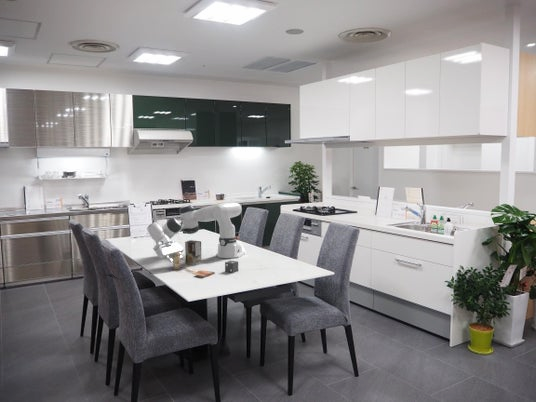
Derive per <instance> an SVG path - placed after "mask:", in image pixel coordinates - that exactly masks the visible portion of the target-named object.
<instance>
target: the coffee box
mask: <svg viewBox="0 0 536 402" xmlns="http://www.w3.org/2000/svg"><path fill="white" fill-rule="evenodd" d="M184 246H185V247H184V248H185V249H184V250H185V253H184V256H185V264H187V265H192V266H198V265H201V264H202V241H199V240H192V239H191V240H187V241H184Z"/></svg>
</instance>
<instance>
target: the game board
mask: <svg viewBox="0 0 536 402" xmlns="http://www.w3.org/2000/svg"><path fill="white" fill-rule="evenodd" d="M166 271H171V272H176V273H177V272H179V273H182V274H183V273H184V274H189V275H194V276H192V277H194V278H200V279H205V278H207V277H210V276H212V275H215V271H211V270H202V269H201V270H200V269H197V268H196V269H195V268H188V267H183V266H182V267H181V266H180V269H179V270H174V269H173V267H171V268H168V269H166Z"/></svg>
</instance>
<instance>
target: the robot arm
mask: <svg viewBox="0 0 536 402" xmlns="http://www.w3.org/2000/svg"><path fill="white" fill-rule="evenodd" d="M242 209H243V208H242V206H241V204H240V203H239V202H233V201H231V202H223V203H218V204H214V205H209V206H204V207H201V208H199V209H197V208H196V207H194V206H193V205H190V204H185V205H182V206H181V207H179V214H180V217H178V216H177V217H172V218H170V219H168V220H167V221H166V222H165V223H164V224H163V225H162V226H161V225H160V224H159V223H158V221H154V222H152V223H151V224H149V225H148V226H147V228H146V230H147V232H148V234H149V236H150V238H151V239H152V240H153V241H154V242H155V245H154V247H153V248H152V249H153V251H154V252H155V254H156V255H157V257H158V259H161V260H163V259H165V260H167V261H168V262H169V263H173V258H170V257H173V256H174V253H176V252H177V253H179V256H180V261H181V260H183V258H184V257H183V255H182V253H183V252H184V248H183V247H182V246H181V244H180V243H178V242H177V241H172V240H171V239H172V238H173V237H174V236H175V235H177V234H179V233H180V232H181V231H182V232H184V233H185V234H188V235H194V234H196V233H197V232H198V231H199V230H200V225H199V222H200V223H201V222H202V223H203V222H206V223H207V222H212V221H217V223H218V226H219V229H218V230H219V237H218V242H219V243H218V245H217V253H216V256H217V257H218V258H220V259H235V258H237V259H239V258H240V257H242V256H244V255H245V254H246V252H245V251H243V248H242V245H241V244H240V243H239V242H238V241H237V240H239V236H236V227H235V225H234V224H233V223H232V221H231V219H232V218H235V217H238V216H240V215H241V214H242V212H243V211H242Z"/></svg>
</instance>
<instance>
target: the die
mask: <svg viewBox="0 0 536 402" xmlns="http://www.w3.org/2000/svg"><path fill="white" fill-rule="evenodd" d="M238 271H239V261H237V260H228V261H225V262H224V272H225V273H232V274H233V273H236V272H238Z"/></svg>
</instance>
